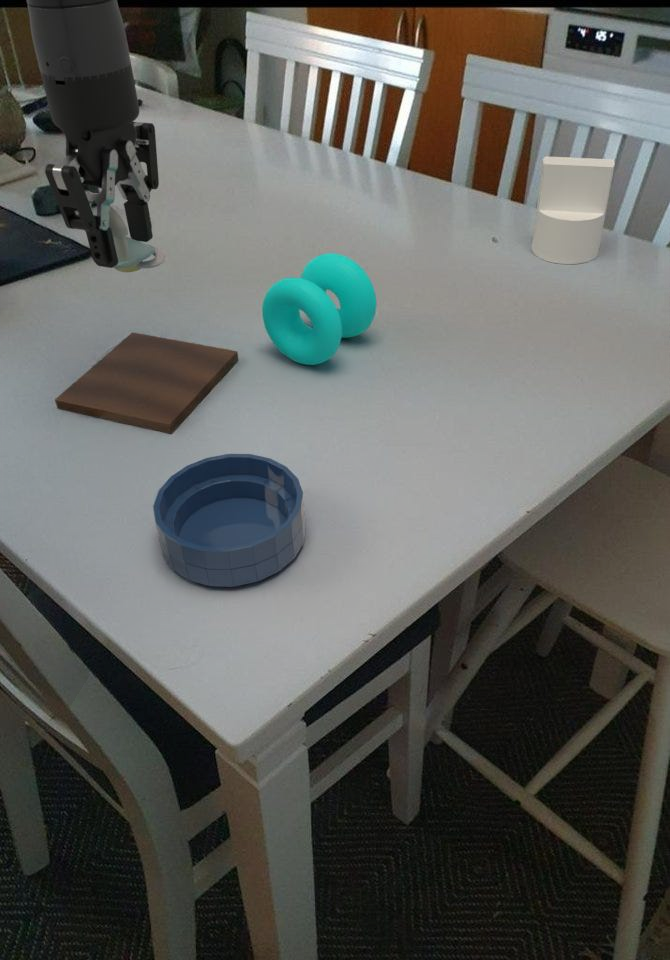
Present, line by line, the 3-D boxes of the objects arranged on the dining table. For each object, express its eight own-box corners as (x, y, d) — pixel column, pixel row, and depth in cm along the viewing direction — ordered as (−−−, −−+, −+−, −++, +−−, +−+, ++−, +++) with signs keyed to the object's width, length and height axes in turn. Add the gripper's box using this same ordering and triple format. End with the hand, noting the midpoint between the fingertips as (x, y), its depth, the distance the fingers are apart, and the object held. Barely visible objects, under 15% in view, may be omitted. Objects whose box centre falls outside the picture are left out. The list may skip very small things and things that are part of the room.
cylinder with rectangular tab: (529, 261, 109) (541, 172, 102) (533, 235, 116) (544, 149, 108) (598, 266, 108) (615, 175, 100) (598, 239, 114) (614, 151, 107)
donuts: (381, 340, 95) (381, 259, 88) (333, 380, 88) (329, 296, 82) (311, 319, 99) (307, 241, 93) (261, 355, 93) (252, 274, 87)
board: (171, 434, 82) (169, 424, 81) (57, 408, 86) (54, 399, 85) (238, 360, 92) (237, 351, 92) (134, 340, 97) (132, 331, 96)
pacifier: (134, 245, 84) (86, 264, 80) (123, 184, 80) (71, 202, 76) (180, 264, 80) (131, 284, 77) (171, 201, 76) (118, 220, 73)
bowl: (268, 607, 63) (263, 567, 61) (135, 569, 67) (124, 529, 64) (326, 509, 72) (324, 470, 69) (206, 480, 76) (199, 442, 73)
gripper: (97, 41, 74) (132, 220, 85) (-8, 80, 64) (47, 278, 75) (167, 45, 72) (195, 228, 83) (70, 86, 62) (116, 290, 73)
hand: (124, 251), depth 79 cm, fingers closed on pacifier, 5 cm apart
